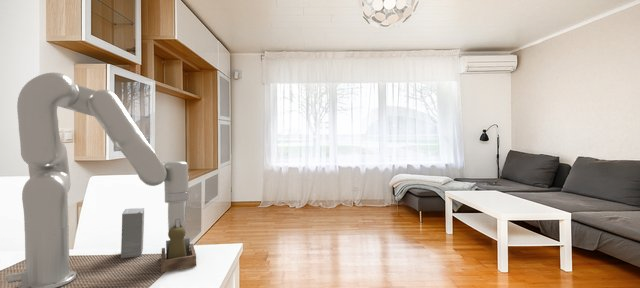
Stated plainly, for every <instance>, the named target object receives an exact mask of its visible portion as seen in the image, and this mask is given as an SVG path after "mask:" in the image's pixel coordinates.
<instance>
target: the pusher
mask: <svg viewBox="0 0 640 288" xmlns="http://www.w3.org/2000/svg"><path fill="white" fill-rule="evenodd" d="M190 241H191V239H190V237H184V242H185V248H186V255H187V256H190V244H191V243H190ZM169 245H170V239H169V240H166V241H165V255H166V259H168V253H169Z"/></svg>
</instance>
